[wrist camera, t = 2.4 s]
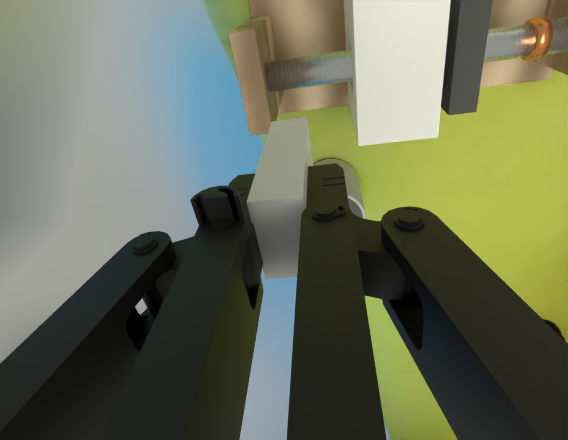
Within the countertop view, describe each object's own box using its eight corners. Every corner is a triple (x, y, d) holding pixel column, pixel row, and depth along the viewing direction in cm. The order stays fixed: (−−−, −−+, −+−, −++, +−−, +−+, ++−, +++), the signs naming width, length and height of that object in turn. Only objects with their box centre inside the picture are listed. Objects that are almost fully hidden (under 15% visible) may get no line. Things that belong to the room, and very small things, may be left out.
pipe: (261, 91, 33) (257, 100, 30) (255, 57, 31) (250, 64, 29) (602, 44, 29) (628, 51, 26) (615, 3, 27) (644, 5, 25)
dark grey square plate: (424, 88, 34) (448, 115, 28) (430, -5, 30) (460, 0, 23) (446, 85, 34) (476, 111, 27) (455, -10, 29) (493, -5, 23)
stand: (269, 112, 42) (254, 156, 32) (248, -6, 36) (221, 2, 26) (545, 76, 38) (630, 114, 28) (580, -66, 31) (708, -84, 21)
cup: (355, 206, 49) (361, 247, 42) (282, 203, 50) (276, 243, 42) (361, 157, 45) (369, 193, 38) (281, 155, 46) (275, 190, 38)
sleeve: (349, 107, 36) (358, 146, 28) (343, -8, 31) (352, -1, 23) (409, 99, 36) (437, 137, 27) (415, -21, 30) (452, -18, 22)
